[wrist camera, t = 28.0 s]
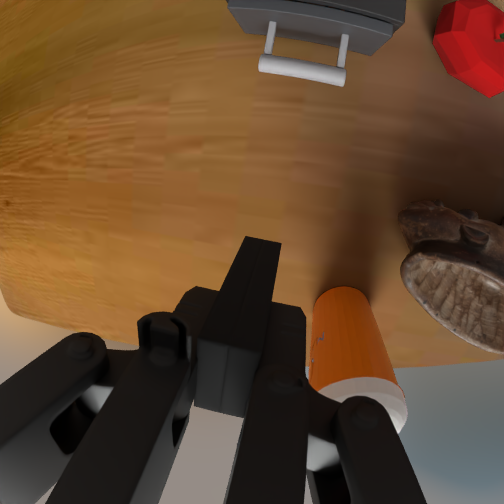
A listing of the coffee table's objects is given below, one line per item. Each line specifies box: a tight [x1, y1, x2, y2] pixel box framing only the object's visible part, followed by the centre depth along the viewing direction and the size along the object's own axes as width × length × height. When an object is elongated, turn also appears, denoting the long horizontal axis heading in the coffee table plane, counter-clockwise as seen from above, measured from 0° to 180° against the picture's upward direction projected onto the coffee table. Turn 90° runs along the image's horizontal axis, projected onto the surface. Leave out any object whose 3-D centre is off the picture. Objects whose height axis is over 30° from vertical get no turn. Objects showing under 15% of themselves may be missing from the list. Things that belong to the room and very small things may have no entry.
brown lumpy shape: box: [398, 199, 504, 354], centre depth 26 cm, size 15×16×25 cm
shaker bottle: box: [308, 286, 408, 434], centre depth 28 cm, size 9×9×20 cm
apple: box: [432, 0, 504, 98], centre depth 18 cm, size 11×11×10 cm
